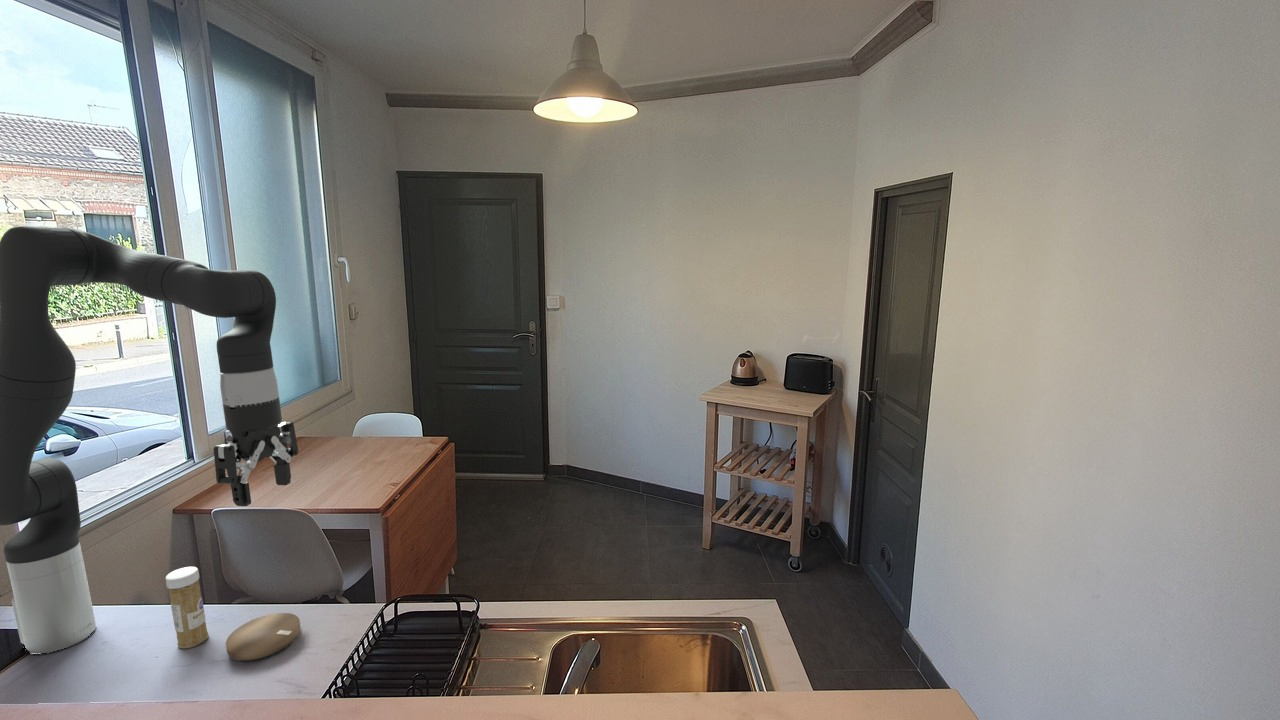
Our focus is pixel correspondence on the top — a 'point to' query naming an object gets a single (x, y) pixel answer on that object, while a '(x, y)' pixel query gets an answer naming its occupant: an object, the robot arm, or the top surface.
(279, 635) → the disc
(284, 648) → the turntable base
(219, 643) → the top surface
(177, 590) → the sprinkles bottle
